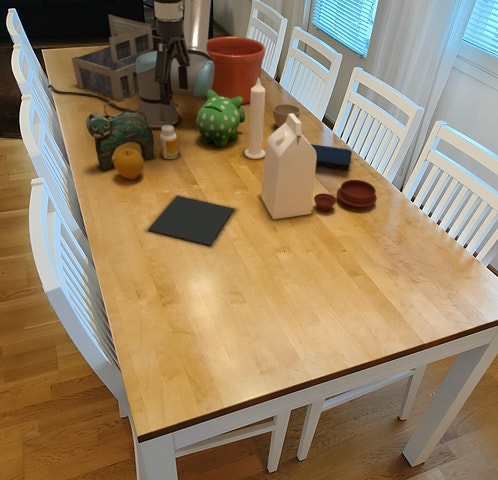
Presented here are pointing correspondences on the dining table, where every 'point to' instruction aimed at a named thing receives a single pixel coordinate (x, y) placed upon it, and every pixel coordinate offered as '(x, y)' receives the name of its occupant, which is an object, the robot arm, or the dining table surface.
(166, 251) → the dining table surface
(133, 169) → the apple
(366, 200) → the pottery
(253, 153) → the candle
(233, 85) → the pot
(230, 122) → the piggy bank
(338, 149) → the game console
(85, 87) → the building
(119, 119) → the ceramic cat
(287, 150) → the milk
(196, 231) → the mat
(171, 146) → the supplement bottle
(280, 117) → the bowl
